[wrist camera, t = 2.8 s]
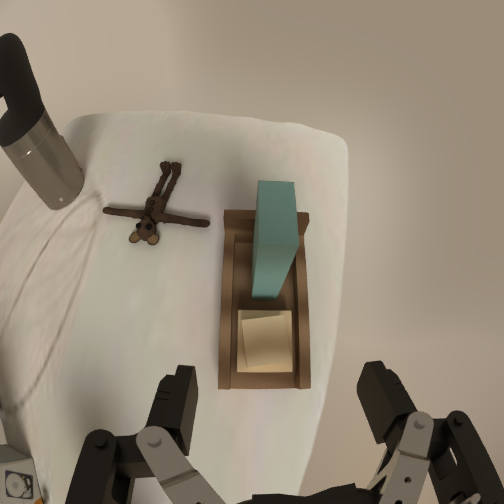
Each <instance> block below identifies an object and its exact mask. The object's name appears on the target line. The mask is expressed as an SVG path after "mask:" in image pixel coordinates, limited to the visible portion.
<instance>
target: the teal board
mask: <svg viewBox="0 0 504 504" xmlns="http://www.w3.org/2000/svg"><path fill="white" fill-rule="evenodd" d="M298 247H299V235H298V222H297V211H296V200H295V189H294V182H280V181H258V193H257V204H256V216H255V227H254V239H253V250H252V300H276V299H277V296H278V294H279V292H280V289H281V287H282V285H283V283H284V280H285V278H286V276H287V273H288V271H289V269H290V266H291V264H292V261H293V259H294V257H295V254H296V252H297V249H298Z"/></svg>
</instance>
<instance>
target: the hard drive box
mask: <svg viewBox="0 0 504 504" xmlns="http://www.w3.org/2000/svg"><path fill="white" fill-rule="evenodd" d="M0 504H43V502H42V498H41V494H40V490H39V486H38V480H37V476H36V472H35V468H34V463H33V459H32V458H30V457H28V456H26V455H25V454H23V453H21V452H19V451H17V450H16V449H14V448H12V447H10V446H9V445H7V444H5V445H0Z"/></svg>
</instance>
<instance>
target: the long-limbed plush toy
mask: <svg viewBox="0 0 504 504" xmlns="http://www.w3.org/2000/svg"><path fill="white" fill-rule="evenodd" d="M160 168H161V170H162V173H163V174H162V176H161V177H160V180H159V182H158V184H157V185H156V188H155V190H154V192H153V194H152V196H151V197H149V198H147V201H146V206H145V210H129V209H115V208H110V207H104V208H103V213H105V214H110V215H118V216H126V217H132V218H138V219H141V221H140V223H137V224H136V228H137V231H136V232H133V233H132V234H131V235H130V237H129V241H130V242H131V243H136V242H138V241H139V240H140V239H142V240H144V241H147V242H148V244H149V245H156V244H157V243H158V241H159V236H158V235H156V234H155V233H156V228H155V225H154V224H157V223H158V222H163V223H176V224H182V225H189V226H196V227H208V226H209V225H210V222H209V221H208V220H203V219H192V218H186V217H181V216H176V215H171V214H166V213H163V211H164V209H165V207H166V203H167V201H168V198H169V196H170V194H171V192H172V191H173V188H174V186H175V184H176V181H177V179H178V177H179V176H180V174H181V163H177V162H175V163H174V162H172V163H171V164H170V162H166V161H164V162H161V163H160ZM171 169H172V174H173V175H172V177H171V180H170V182H169V183H168V185H167V188H166V190H165V192H164V194H163V196H162V197H159V194H160V192H161V190H162V188H163V186H164V184H165V182H166V180H167V178H168V176H169V175H170V173H171Z"/></svg>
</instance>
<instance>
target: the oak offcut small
mask: <svg viewBox="0 0 504 504" xmlns="http://www.w3.org/2000/svg"><path fill="white" fill-rule="evenodd" d="M241 325H242V333H243V341H244V349H245V357H246V365H247V368H248V367H256V366H264V365H271V364H278V363H284V362H289V361H291V357H290V350H289V344H288V337H287V331H286V325H285V319H284V315H279V316H271V317H263V318H255V319H246V320H241Z"/></svg>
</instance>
